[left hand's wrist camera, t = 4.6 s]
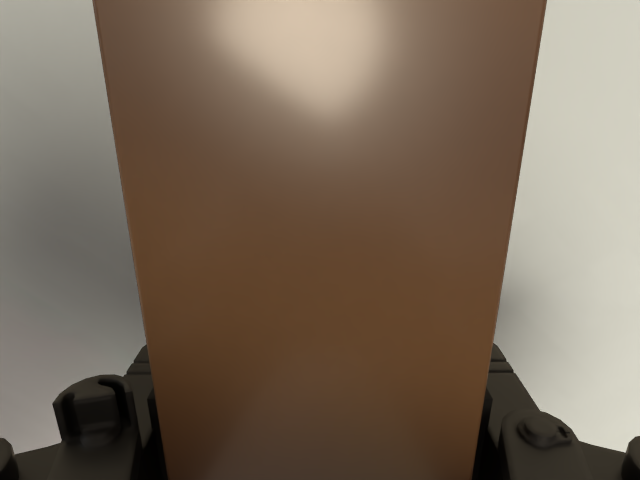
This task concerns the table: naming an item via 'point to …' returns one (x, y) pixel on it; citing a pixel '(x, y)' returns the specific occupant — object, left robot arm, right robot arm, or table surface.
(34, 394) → the table surface
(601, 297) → the table surface
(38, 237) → the table surface
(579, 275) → the table surface
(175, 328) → the post
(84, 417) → the left robot arm
